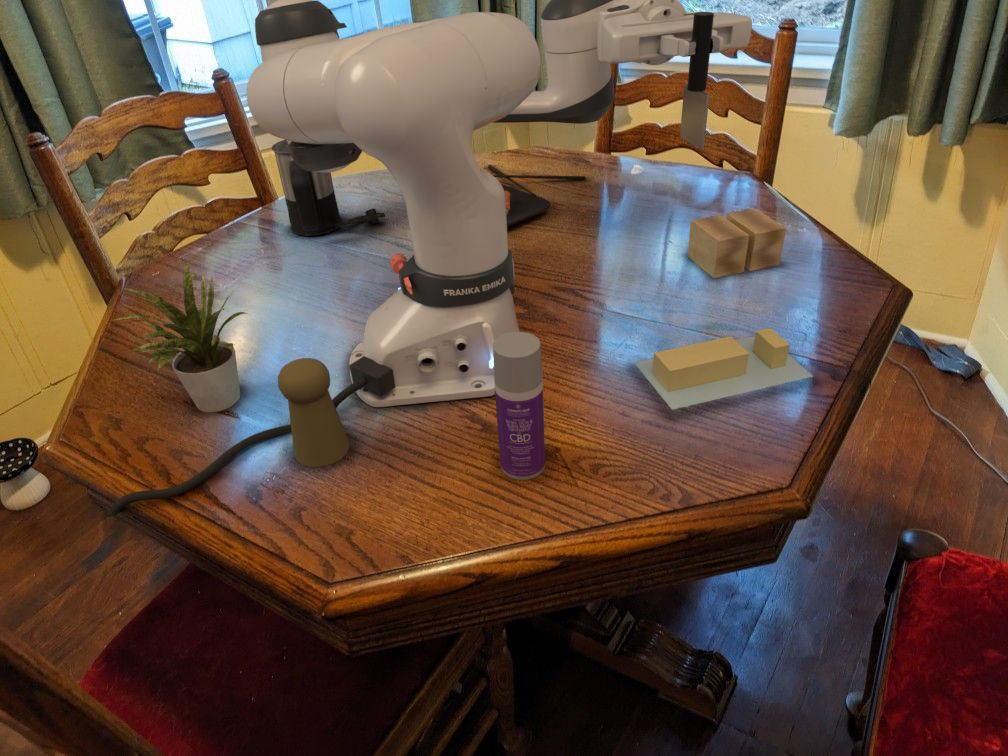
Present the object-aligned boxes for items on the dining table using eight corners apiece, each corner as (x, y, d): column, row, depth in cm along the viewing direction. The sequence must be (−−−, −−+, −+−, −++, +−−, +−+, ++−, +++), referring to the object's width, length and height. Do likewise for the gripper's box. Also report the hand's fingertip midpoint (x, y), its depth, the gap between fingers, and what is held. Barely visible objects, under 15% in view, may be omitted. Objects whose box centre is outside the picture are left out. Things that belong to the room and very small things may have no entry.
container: (511, 486, 74) (503, 363, 65) (493, 458, 77) (483, 338, 69) (553, 471, 75) (550, 349, 66) (533, 445, 79) (528, 326, 70)
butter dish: (671, 416, 81) (672, 409, 81) (633, 368, 89) (633, 362, 89) (812, 383, 85) (813, 376, 84) (763, 340, 93) (764, 333, 92)
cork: (337, 470, 77) (316, 385, 71) (284, 464, 78) (259, 381, 72) (357, 433, 82) (339, 351, 75) (307, 428, 83) (286, 347, 77)
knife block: (713, 278, 107) (718, 240, 103) (687, 256, 113) (690, 219, 110) (779, 265, 109) (786, 228, 106) (750, 244, 115) (755, 208, 112)
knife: (694, 151, 96) (707, 18, 87) (673, 138, 101) (683, 10, 92) (710, 148, 97) (725, 16, 88) (688, 135, 102) (700, 8, 92)
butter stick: (667, 392, 83) (669, 370, 82) (652, 373, 86) (653, 352, 85) (745, 374, 85) (749, 353, 84) (727, 356, 88) (730, 335, 87)
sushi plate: (396, 197, 140) (394, 178, 138) (511, 156, 156) (510, 138, 153) (497, 239, 122) (496, 218, 120) (615, 188, 137) (616, 168, 135)
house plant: (154, 378, 93) (107, 262, 84) (264, 352, 97) (231, 238, 87) (152, 445, 82) (98, 320, 73) (277, 412, 86) (240, 290, 76)
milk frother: (285, 223, 132) (265, 141, 124) (367, 204, 138) (354, 124, 129) (304, 252, 122) (284, 165, 113) (393, 230, 127) (380, 145, 119)
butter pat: (770, 369, 86) (774, 347, 84) (752, 351, 89) (755, 330, 87) (785, 365, 86) (790, 344, 85) (766, 348, 89) (770, 327, 88)
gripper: (718, 45, 106) (773, 64, 95) (587, 62, 102) (628, 84, 91) (723, -4, 103) (781, 11, 92) (587, 12, 98) (631, 29, 87)
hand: (704, 47), depth 91 cm, fingers closed on knife, 2 cm apart
